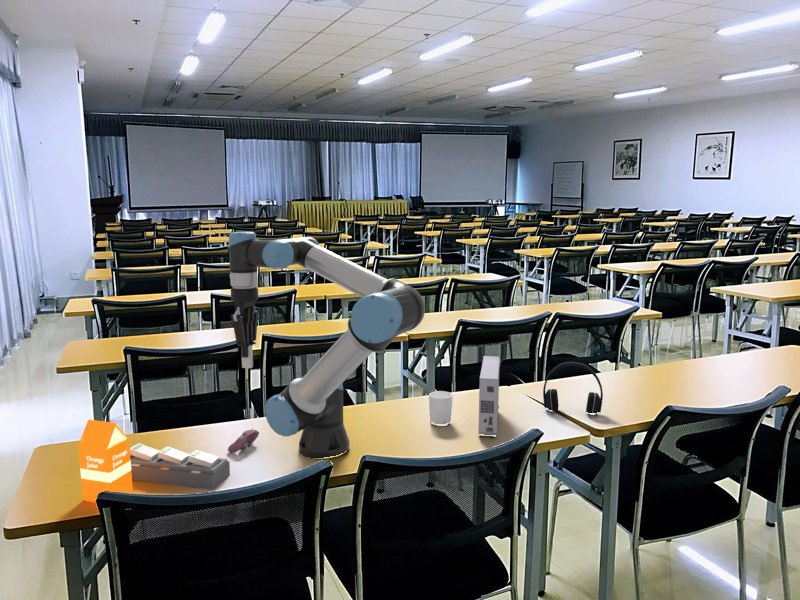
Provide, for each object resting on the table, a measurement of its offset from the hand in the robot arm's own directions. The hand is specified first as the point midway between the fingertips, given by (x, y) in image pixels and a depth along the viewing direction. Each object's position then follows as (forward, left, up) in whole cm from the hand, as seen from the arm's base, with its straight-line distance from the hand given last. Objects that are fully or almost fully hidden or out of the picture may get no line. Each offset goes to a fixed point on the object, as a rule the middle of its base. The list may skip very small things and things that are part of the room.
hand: (247, 367), depth 182 cm
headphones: (-93, -59, -27) cm, 113 cm away
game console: (-66, -41, -27) cm, 82 cm away
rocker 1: (+22, +19, -20) cm, 36 cm away
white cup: (-50, -38, -27) cm, 68 cm away
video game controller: (+4, -3, -27) cm, 27 cm away
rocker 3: (+4, +19, -20) cm, 28 cm away
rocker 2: (+13, +19, -20) cm, 31 cm away
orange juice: (+23, +33, -27) cm, 48 cm away
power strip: (+13, +19, -26) cm, 35 cm away
